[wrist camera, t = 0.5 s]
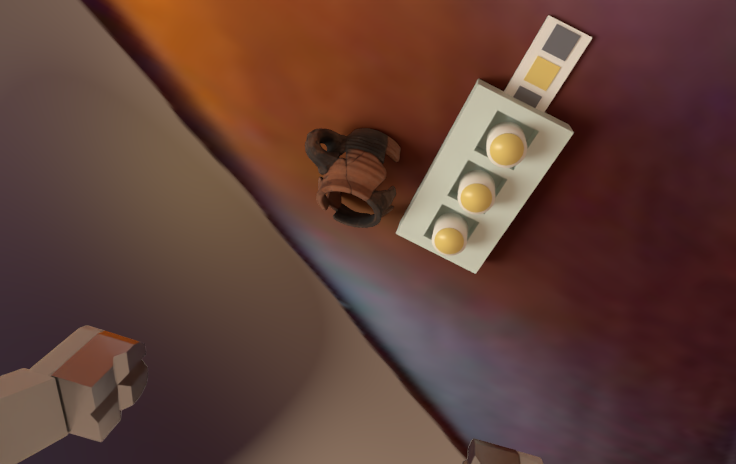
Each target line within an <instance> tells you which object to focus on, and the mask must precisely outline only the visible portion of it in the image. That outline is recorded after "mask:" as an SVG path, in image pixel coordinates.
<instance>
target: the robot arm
mask: <svg viewBox="0 0 736 464" xmlns="http://www.w3.org/2000/svg"><path fill="white" fill-rule="evenodd" d="M145 355H146V349H145V344H143V343H141V342H138V341H135V340H132V339H129V338H126V337H123V336H120V335H117V334H114V333H111V332H107V331H104V330H101V329H97V328H94V327H91V326H88V325H86V326H84V327H81V328H79V329H77V331H75V332H74V333H73V334H71V335H70V336H69V337H68V338H67V339H65V340H64V341H63V342H62V343H61V344H59V345H58V346H57V347H56V348H55V349H53V350H52V351H51V352H50V353H49V354H47V355H46V356H45V357H44V358H43V359H42V360H40V361H39V362H38V363H37V364H35V365H34V366H33V367H32V368H31V369H25V368H23V369H20V370H17V371H14V372H11V373H8V374H5V375H3V376H0V464H17V463H18V462H20V461H22V460H24V459H26V458H27V457H29V456H31V455H33V454H35V453H36V452H38V451H40V450H42V449H44V448H45V447H47V446H49V445H51V444H52V443H54V442H56V441H58V440H60V439H62V438H63V437H65V436H67V435H68V433H71V434H75V435H78V436H82V437H85V438H89V439H92V440H95V441H99V442H102V441H103V440H104V438H105V437H106V436H107V435H108V434H109V433H110V432H111V430H112V429H113V428H114V427H115V426H116V425H117V423H118V422H119V421H120V420H121V410H123V409H125V408H127V407H129V406H131V405H133V404H134V403H135V402H136V401H137V399H138V398H139V397H140V396H141V394H142V392H143V390H144V388H145V386H146V384H147V379H148V367H147V366H146V364H145V363H144V362H143V360H142V358H143V357H144V356H145ZM462 464H543V461H542V460H541V458H540V457H536V456H533V455H529V454H526V453H522V452H519V451H516V450H513V449H510V448H506V447H502V446H499V445H495V444H492V443H488V442H484V441H481V440H477V439H474V438H473V440H472V441H471V443H470V445H469V448H468V459H467V460H465V461H463V463H462Z"/></svg>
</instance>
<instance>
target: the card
mask: <svg viewBox="0 0 736 464" xmlns="http://www.w3.org/2000/svg"><path fill="white" fill-rule="evenodd" d="M591 39H592V37H590V36H588V35H586V34H584V33H582V32H581V31H579V30H577V29H575V28H573V27H571V26H569V25H567V24H565V23H563V22H561V21H559V20H557V19H555V18H553V17H551V16H549V15H548V17H547V19H546V20H545V22H544V24H543V25H542V27H541V29H540V31H539V32H538V34H537V36H536V37H535V39H534V41H533V43H532V44H531V46H530V48H529V49H528V51H527V53H526V54H525V56H524V58H523V60H522V61H521V63H520V65H519V66H518V68H517V70H516V72H515V73H514V75H513V77H512V78H511V80H510V82H509V84H508V85H507V87H506V89H505V90H504V93H506V94H508V95H510V96H512V97H514V98H516V99H518V100H520V101H522V102H524V103H526V104H528V105H530V106H532V107H534V108H536V109H538V110H540V111H542V112H545V111H546V109H547V107H548V106H549V104H550V103H551V101H552V100H553V98H554V97H555V95H556V94H557V92H558V90H559V89H560V87H561V86H562V84H563V83H564V81H565V80H566V78H567V77H568V75H569V73H570V72H571V70H572V69H573V67H574V66H575V64H576V63H577V61H578V60H579V58H580V56H581V55H582V53H583V52H584V50H585V49H586V47H587V46H588V44H589V42H590V41H591Z"/></svg>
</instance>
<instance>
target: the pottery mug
mask: <svg viewBox="0 0 736 464" xmlns="http://www.w3.org/2000/svg"><path fill="white" fill-rule="evenodd" d="M320 143H323V144H325V145H326V146H327V151H325V150H324V149H323V148H322V147H321V145H320ZM305 150H306V153H307V155H308V157H309V158H310V159H311V160H312V161H313V162H314V163H315V165H316V166H317V167H318V171H319V173H320V174H322V175H324V174H325V175H324V177H323V178H324V179H323V178H322V177H319V181H318V188H319V190H318V192H317V195H316V199H317V202H318V204H319V206H320V208H321V209H322V210H327V209H328V206H329V207H330V208H332V209H333V210H335V211H336V213H335V214H334V215H333V218H334V219H335V220H336V221H339V222H341V223H343V224H346V225H349V226H353V227H362V228H368V227H373V226H375V225H377V224H378V223H379V222H380V220H381V217H383V216H384V215H386V214H387V213H389V212H390V211H391V210H392V209H393V208H394V206H390V205H391V203H392V201H393V198H394V197H395V196H396V190H395V187H394V186H391V187H390V188H389V189H388V190H384V191H375V189H376V188H377V187H378V186H379V185H380V184H381V183H382V182H383V181H384V180H385V178H386V169H385V167H384V166H383V163H384V159H385V153H386V154H387V155H389V156H390V157H391V158H392V159H393V160H394V162H398V161H399V159H400V151H401V148H400V146H399V145H398V144H397V143H396V142H395V141H394V140H393V139H392V138H390V137H389V136H387V135H386V134H384V133H382V132H380V131H378V130H373V129H369V128H361V129H355V130H354V131H353V132H352V133H351V134H349V135H348V136H345V135H340V134H338V133H336V132H334V131H332V130H329V129H315V130H313V131H312V132H310V133H308V135H307V140H306V142H305ZM344 152H346V159H344V158H339V156H340V155H342V154H343V153H344ZM339 191H340V192H346V193H351V194H352V195H355V196H357V197H359V198H361V199H362V200H364V201H366V202H367V203H368V204H369V205H370V206H371V207H372V209H373V211H374V213H375V214H373V215H370V214H367V213H359V212H355V211H353V210H351V209H350V208H348V207H347V206H345V205H344V204H342V203H341V193H340V192H339ZM326 193H328V195H327V196H326V195H325V194H326ZM389 206H390V207H389Z"/></svg>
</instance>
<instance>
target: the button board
mask: <svg viewBox="0 0 736 464" xmlns="http://www.w3.org/2000/svg"><path fill="white" fill-rule="evenodd" d="M501 122H513V123H516V124H517V125H519V126H520V127H521V128H522V130H523V132H524V134H525V138H526V142H527V153H526V156H525V157H524V159H523V160H522V161H521V162H520V163H519V164H517V165H516V166H513V167H510V168H502V167H498V166H496V165H494V164H493V163H492V162H491V161H490V160H489V158H488V156H487V150H486V140H487V135H488V133H489V131H490V130H491V128H492V127H493V126H495V125H496V124H498V123H501ZM573 133H574V132H573V130H572V129H571V127H570V125H569V124H567V123H565V122H563V121H561V120H559V119H557V118H555V117H553V116H551V115H549V114H547V113H545V112H542V111H540V110H538V109H536V108H534V107H532V106H530V105H528V104H526V103H524V102H522V101H520V100H518V99H516V98H514V97H512V96H510V95H508V94H506V93H504V91H502V90H500V89H498V88H496V87H494V86H492V85H490V84H488V83H486V82H484V81H482V80H480V79H478V80H477V82H476V84H475V86H474V88H473V90H472V91H471V93H470V95H469V97H468V99H467V100H466V102H465V104H464V106H463V108H462V110H461V111H460V113H459V115H458V117H457V119H456V121H455V122H454V124H453V126H452V128H451V130H450V132H449V133H448V135H447V137H446V139H445V141H444V143H443V144H442V146H441V148H440V150H439V152H438V153H437V155H436V157H435V159H434V161H433V163H432V164H431V166H430V168H429V170H428V172H427V174H426V175H425V177H424V179H423V181H422V183H421V185H420V186H419V188H418V190H417V192H416V194H415V196H414V197H413V199H412V201H411V203H410V205H409V206H408V208H407V210H406V212H405V214H404V216H403V217H402V219H401V221H400V223H399V226H398V229H397V232H396V234H398V235H400V236H402V237H404V238H405V239H407V240H409V241H411V242H413V243H415V244H417V245H419V246H421V247H423V248H425V249H427V250H429V251H431V252H433V253H435V254H437V255H439V256H441V257H443V258H445V259H447V260H449V261H451V262H453V263H455V264H457V265H459V266H461V267H463V268H465V269H467V270H469V271H471V272H473V273H475V274H476V272H477V271H478V270H479V268H480V267H481V265H482V264H483V262H484V261H485V260H486V258H487V257H488V255H489V254H490V252H491V251H492V250H493V248H494V247H495V245H496V244H497V242H498V241H499V240H500V238H501V237H502V235H503V234H504V232H505V231H506V229H507V228H508V227H509V225H510V224H511V222H512V221H513V219H514V218H515V217H516V215H517V214H518V212H519V211H520V209H521V208H522V207H523V205H524V204H525V202H526V201H527V199H528V198H529V196H530V195H531V194H532V192H533V191H534V189H535V188H536V186H537V185H538V184H539V182H540V181H541V179H542V178H543V176H544V175H545V174H546V172H547V171H548V169H549V168H550V166H551V165H552V163H553V162H554V161H555V159H556V158H557V156H558V155H559V153H560V152H561V151H562V149H563V148H564V146H565V145H566V143H567V142H568V141H569V139H570V138H571V136H572V135H573ZM472 170H482V171H485V172H487V173H489V174H490V175H491V176H492V178H493V180H494V183H495V202H494V204H493V206H492V207H491V209H490V210H488V211H487V212H485V213H482V214H470V213H468V212H466V211H464V210H463V209H462V208H461V207H460V205H459V203H458V198H457V197H458V189H459V182H460V180H461V178H462V177H463V176H464V175H465V174H466V173H467V172H469V171H472ZM446 213H456V214H459V215H460V216H462V217H463V218H464V219H465V220H466V222H467V225H468V234H467V244H466V247H465V249H464V250H463V251H462V252H461V253H459V254H457V255H454V256H446V255H443V254H441V253H439V252H438V251H436V250H435V248H434V247H433V245H432V235H433V230H434V225H435V222H436V220H437V219H438V218H439V217H440V216H441V215H443V214H446Z"/></svg>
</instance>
